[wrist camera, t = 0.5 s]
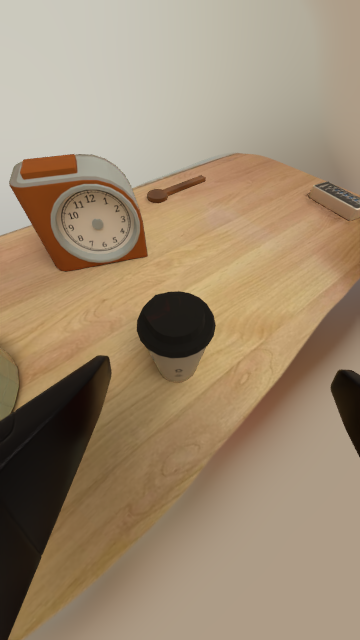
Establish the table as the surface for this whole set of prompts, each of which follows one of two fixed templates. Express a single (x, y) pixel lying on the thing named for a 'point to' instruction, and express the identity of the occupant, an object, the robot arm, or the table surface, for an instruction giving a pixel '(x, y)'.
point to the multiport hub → (336, 200)
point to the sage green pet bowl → (7, 383)
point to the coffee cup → (176, 332)
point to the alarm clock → (80, 209)
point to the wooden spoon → (172, 189)
